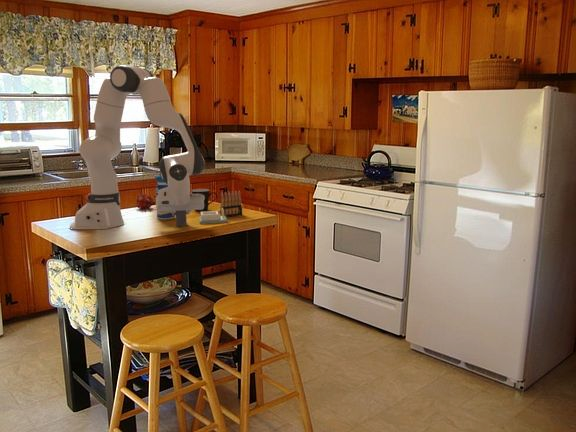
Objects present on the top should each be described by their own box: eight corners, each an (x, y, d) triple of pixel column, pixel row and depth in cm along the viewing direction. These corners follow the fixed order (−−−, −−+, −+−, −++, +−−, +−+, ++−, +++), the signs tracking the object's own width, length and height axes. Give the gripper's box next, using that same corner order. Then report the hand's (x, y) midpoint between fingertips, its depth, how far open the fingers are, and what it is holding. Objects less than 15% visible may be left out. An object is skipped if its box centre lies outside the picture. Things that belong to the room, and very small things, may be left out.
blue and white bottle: (175, 215, 263) (172, 173, 259) (175, 219, 255) (173, 175, 251) (156, 216, 261) (154, 174, 257) (156, 220, 253) (154, 176, 249)
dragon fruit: (142, 209, 288) (150, 216, 279) (129, 201, 283) (136, 208, 273) (151, 196, 289) (160, 202, 279) (138, 187, 283) (146, 194, 274)
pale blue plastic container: (200, 223, 244) (199, 212, 243) (199, 219, 254) (198, 208, 253) (227, 222, 246) (227, 211, 245) (225, 218, 256) (225, 207, 255)
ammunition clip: (240, 214, 264) (239, 189, 261) (242, 215, 262) (241, 190, 260) (220, 217, 258) (219, 191, 256) (222, 217, 256) (221, 192, 254)
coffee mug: (189, 211, 273) (188, 191, 271) (197, 208, 281) (196, 188, 279) (211, 212, 270) (210, 192, 268) (218, 209, 278) (217, 189, 276)
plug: (176, 226, 240) (175, 205, 238) (176, 224, 244) (175, 204, 242) (186, 225, 241) (185, 205, 239) (186, 223, 245) (185, 203, 243)
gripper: (204, 187, 234) (204, 206, 246) (154, 189, 231) (157, 208, 242) (205, 200, 231) (205, 218, 242) (154, 202, 227) (157, 220, 239)
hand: (180, 213), depth 242 cm, fingers closed on plug, 4 cm apart
